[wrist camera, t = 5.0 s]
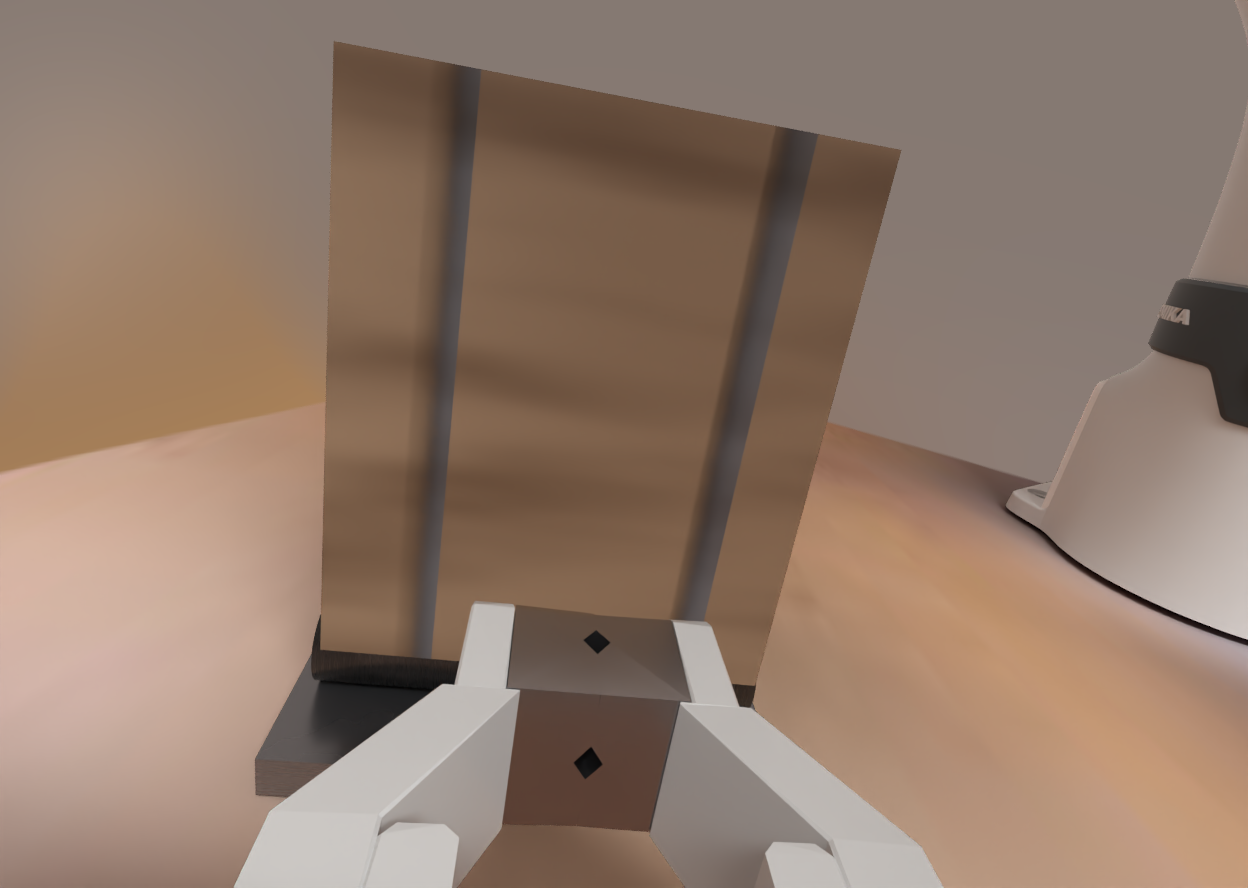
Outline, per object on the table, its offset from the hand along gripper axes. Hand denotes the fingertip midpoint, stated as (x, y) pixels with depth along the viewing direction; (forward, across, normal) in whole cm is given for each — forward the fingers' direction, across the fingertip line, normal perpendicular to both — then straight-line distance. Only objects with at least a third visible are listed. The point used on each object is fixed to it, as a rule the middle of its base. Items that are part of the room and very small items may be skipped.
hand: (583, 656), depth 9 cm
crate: (+10, 0, +5) cm, 11 cm away
